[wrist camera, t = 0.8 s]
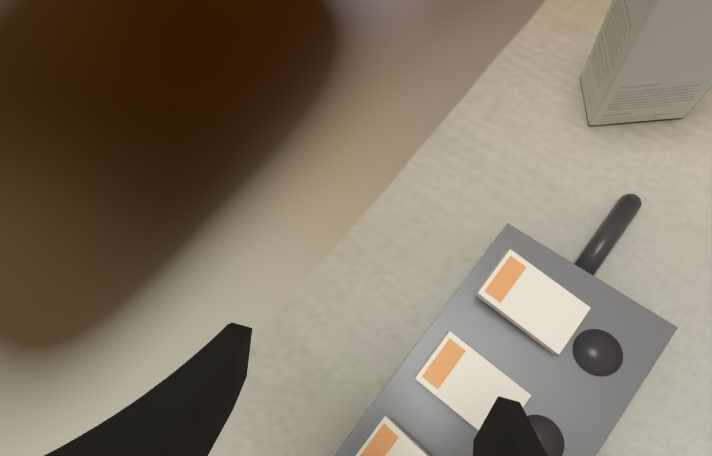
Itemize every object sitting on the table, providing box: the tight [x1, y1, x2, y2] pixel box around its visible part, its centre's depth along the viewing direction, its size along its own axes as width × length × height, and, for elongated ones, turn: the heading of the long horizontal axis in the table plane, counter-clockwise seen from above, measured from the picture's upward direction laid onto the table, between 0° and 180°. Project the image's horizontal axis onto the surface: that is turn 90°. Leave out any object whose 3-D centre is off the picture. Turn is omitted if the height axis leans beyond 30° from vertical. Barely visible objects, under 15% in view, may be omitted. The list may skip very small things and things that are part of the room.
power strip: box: [334, 194, 677, 456], centre depth 24 cm, size 25×10×3 cm, turn 140°
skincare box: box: [581, 0, 712, 125], centre depth 24 cm, size 6×4×12 cm
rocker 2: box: [475, 249, 591, 355], centre depth 23 cm, size 3×5×1 cm, turn 50°
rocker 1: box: [414, 331, 531, 431], centre depth 22 cm, size 3×5×1 cm, turn 50°
